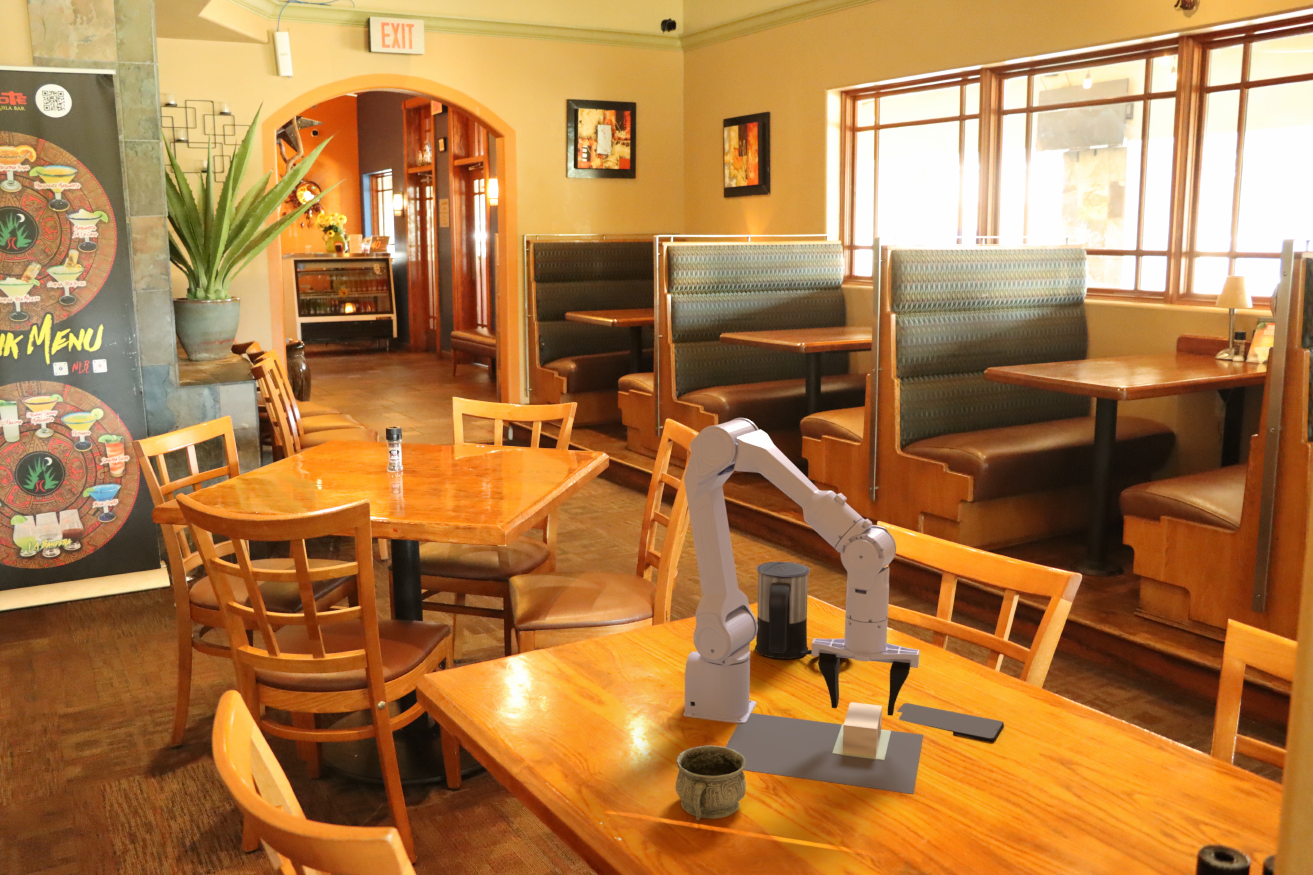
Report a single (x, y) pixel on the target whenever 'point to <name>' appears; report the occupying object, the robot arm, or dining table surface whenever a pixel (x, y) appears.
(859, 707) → the birch block
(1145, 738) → the dining table surface
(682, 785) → the vessel
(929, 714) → the smartphone
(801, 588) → the milk frother
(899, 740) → the rubber mat
